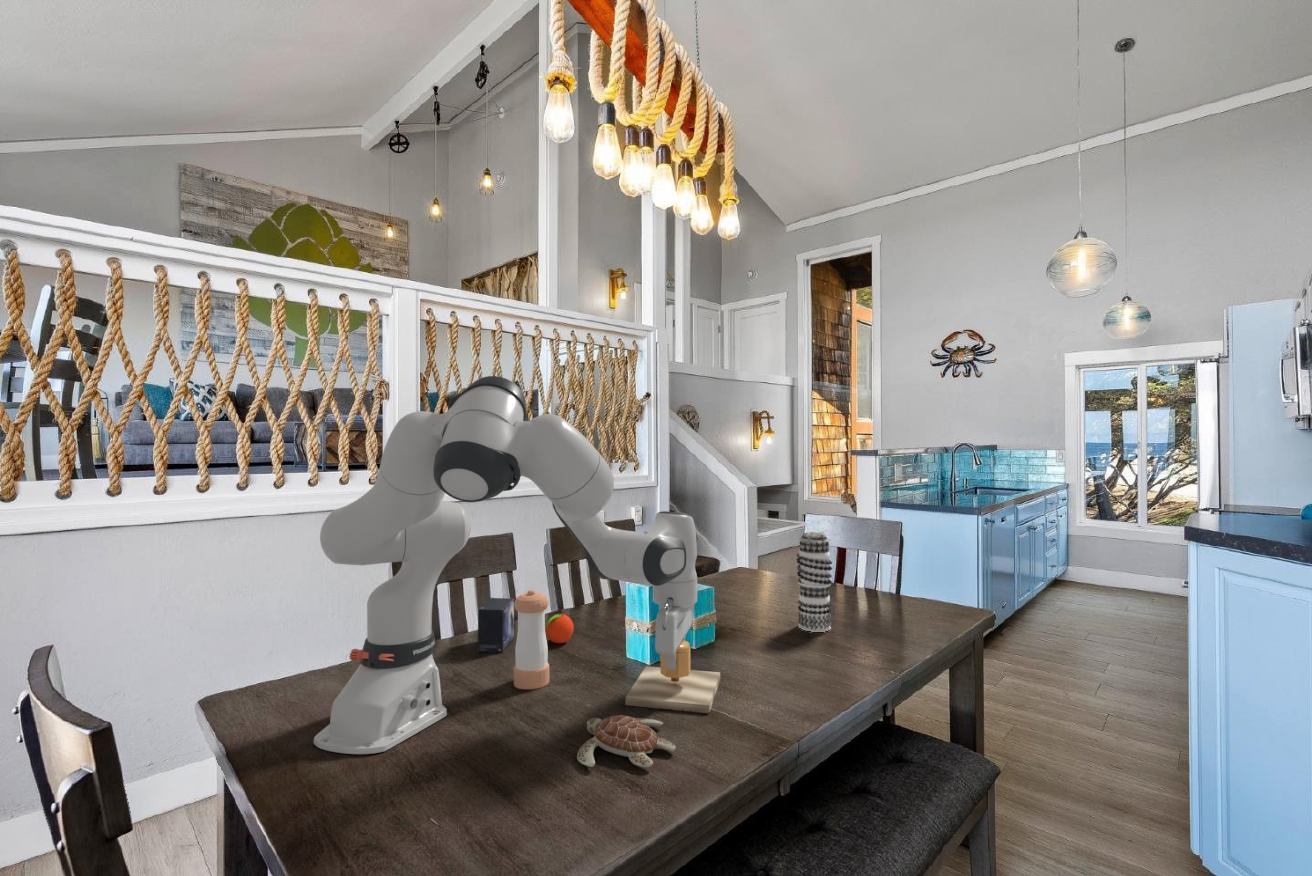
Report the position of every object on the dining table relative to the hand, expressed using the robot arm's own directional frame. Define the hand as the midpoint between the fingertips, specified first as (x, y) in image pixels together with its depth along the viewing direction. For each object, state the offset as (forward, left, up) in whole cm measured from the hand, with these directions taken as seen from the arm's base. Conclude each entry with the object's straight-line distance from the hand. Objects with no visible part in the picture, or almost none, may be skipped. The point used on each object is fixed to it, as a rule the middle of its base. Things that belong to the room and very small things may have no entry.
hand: (675, 662), depth 121 cm
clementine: (+22, +34, -6) cm, 41 cm away
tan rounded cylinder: (0, 0, -2) cm, 2 cm away
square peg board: (0, 0, -6) cm, 6 cm away
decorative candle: (+48, -28, -6) cm, 56 cm away
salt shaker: (-2, +30, -6) cm, 31 cm away
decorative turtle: (-23, +4, -7) cm, 24 cm away
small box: (+17, +48, -6) cm, 52 cm away
